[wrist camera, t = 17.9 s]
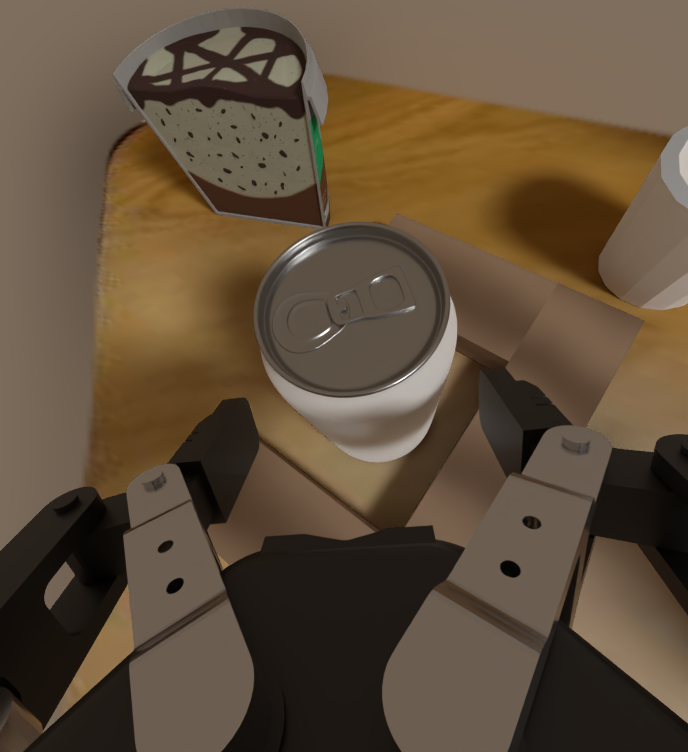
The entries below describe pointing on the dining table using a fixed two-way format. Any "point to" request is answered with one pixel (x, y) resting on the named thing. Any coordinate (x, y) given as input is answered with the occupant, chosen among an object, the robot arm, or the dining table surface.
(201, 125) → the food container
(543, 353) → the notched board
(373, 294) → the can
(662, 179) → the white short cylinder
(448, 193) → the dining table surface
